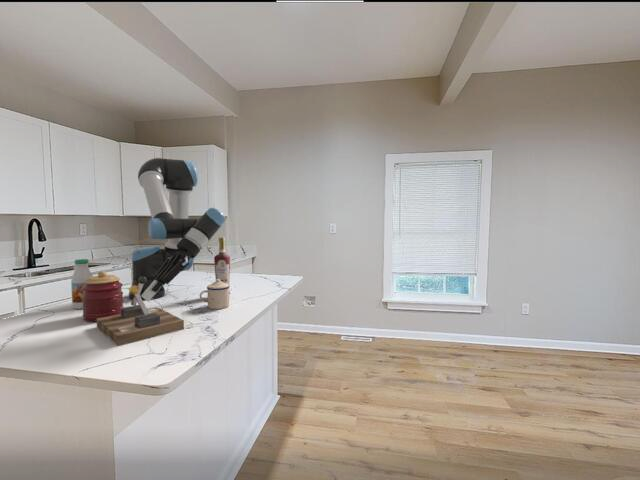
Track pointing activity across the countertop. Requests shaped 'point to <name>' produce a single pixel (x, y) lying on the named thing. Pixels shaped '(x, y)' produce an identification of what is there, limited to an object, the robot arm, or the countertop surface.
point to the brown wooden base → (138, 324)
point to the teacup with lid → (217, 295)
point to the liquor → (222, 263)
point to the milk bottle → (79, 282)
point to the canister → (102, 297)
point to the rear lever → (141, 281)
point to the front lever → (138, 298)
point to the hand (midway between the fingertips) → (144, 298)
